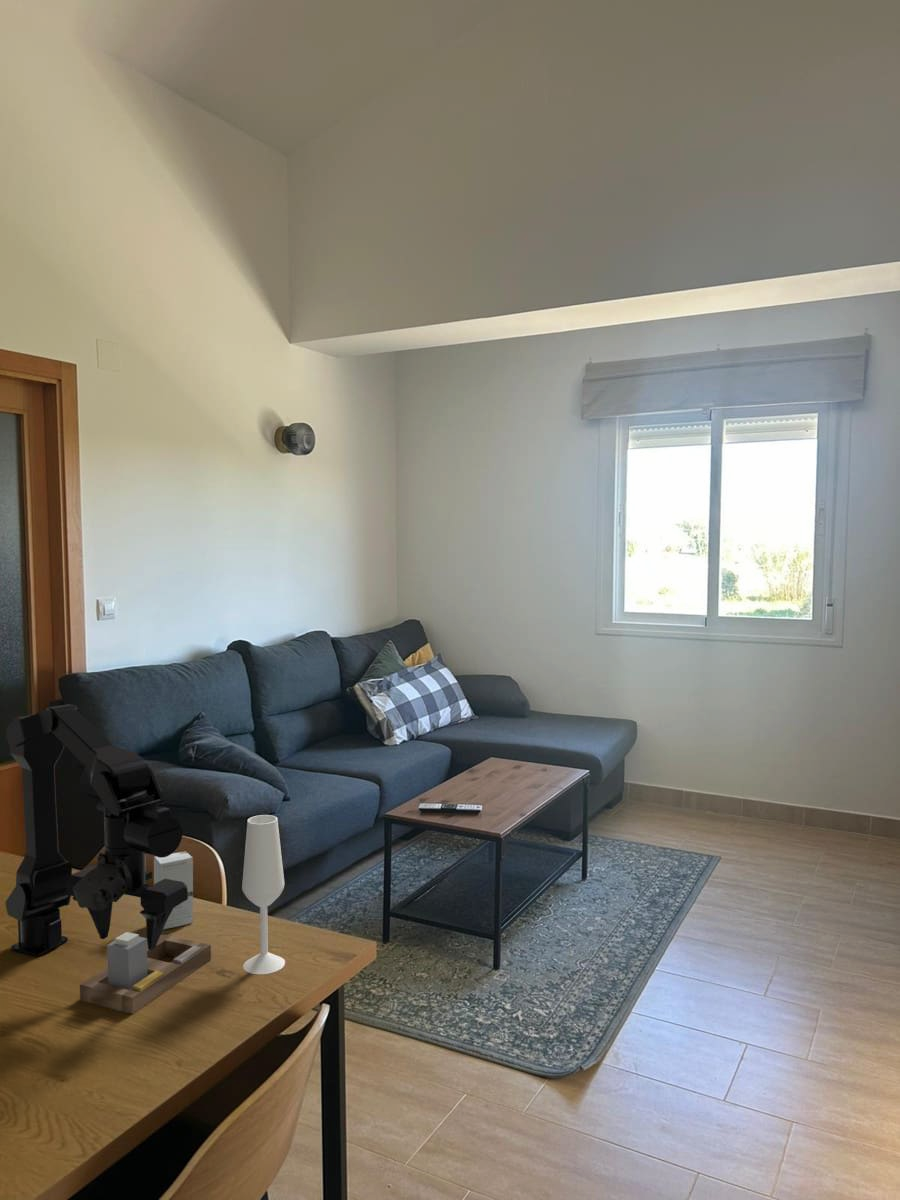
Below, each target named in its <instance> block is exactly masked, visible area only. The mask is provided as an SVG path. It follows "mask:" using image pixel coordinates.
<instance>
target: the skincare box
mask: <svg viewBox="0 0 900 1200" xmlns="http://www.w3.org/2000/svg"><path fill="white" fill-rule="evenodd" d="M193 871H194V857H193V856H191V855H190V854H189V853H188V852H187V851H180V852H173V853H172V854H171V855H169V856H167V857H162V858H160V857H156V856H153V885H154V884H156V883H157V882H159V881H161V880H163V879H170V880H175V881H181V882H184V883H185V884H186V885H187V889H188V900H186V901H184V902H182V903H181V904H179V905H178V906H176V907H174V908H173V910H172V912H171V914H170V916H169V917H168V919H167V921H166V924H165V926H164V928H163V930H167V929H171V928H177V927H182V926H185V925H186V926H187V925H190V924H192V923H193V922H194V896H193V895H194V894H193V893H194V877H193V876H194V875H193V874H194V872H193Z"/></svg>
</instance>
